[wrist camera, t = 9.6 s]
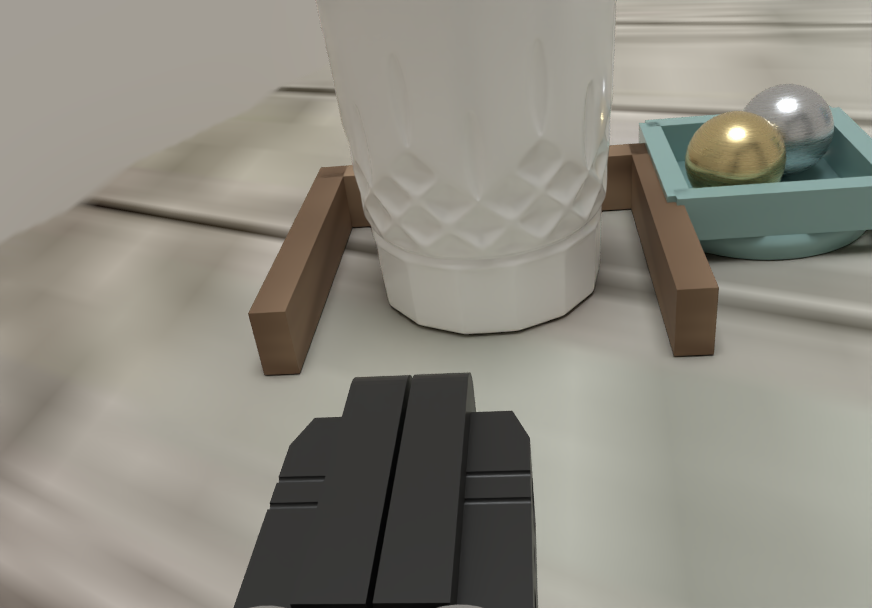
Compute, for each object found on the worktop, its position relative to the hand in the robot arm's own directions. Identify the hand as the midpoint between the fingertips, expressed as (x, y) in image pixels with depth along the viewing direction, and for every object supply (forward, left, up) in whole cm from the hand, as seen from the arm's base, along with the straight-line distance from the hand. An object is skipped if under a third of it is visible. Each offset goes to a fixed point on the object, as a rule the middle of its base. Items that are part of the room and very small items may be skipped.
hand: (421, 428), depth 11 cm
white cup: (0, -15, -6) cm, 16 cm away
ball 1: (-8, -17, -4) cm, 19 cm away
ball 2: (-10, -19, -4) cm, 22 cm away
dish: (-9, -18, -6) cm, 21 cm away
